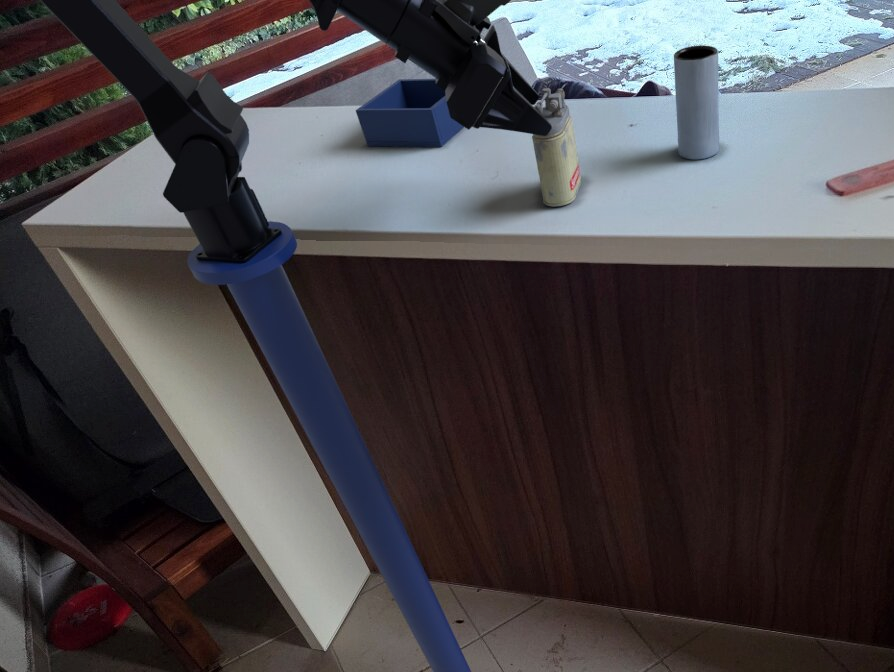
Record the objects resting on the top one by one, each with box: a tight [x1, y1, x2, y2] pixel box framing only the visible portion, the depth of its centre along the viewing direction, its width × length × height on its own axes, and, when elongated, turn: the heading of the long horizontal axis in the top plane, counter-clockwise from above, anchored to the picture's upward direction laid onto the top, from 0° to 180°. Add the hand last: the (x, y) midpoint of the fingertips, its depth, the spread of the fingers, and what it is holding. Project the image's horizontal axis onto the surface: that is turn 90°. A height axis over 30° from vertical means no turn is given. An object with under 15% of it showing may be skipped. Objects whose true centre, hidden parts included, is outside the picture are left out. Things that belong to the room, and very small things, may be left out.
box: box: [355, 78, 465, 148], centre depth 99 cm, size 11×11×5 cm
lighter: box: [531, 87, 583, 207], centre depth 77 cm, size 7×4×10 cm, turn 171°
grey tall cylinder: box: [673, 45, 720, 160], centre depth 80 cm, size 4×4×10 cm
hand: (542, 115), depth 75 cm, fingers open, 9 cm apart
